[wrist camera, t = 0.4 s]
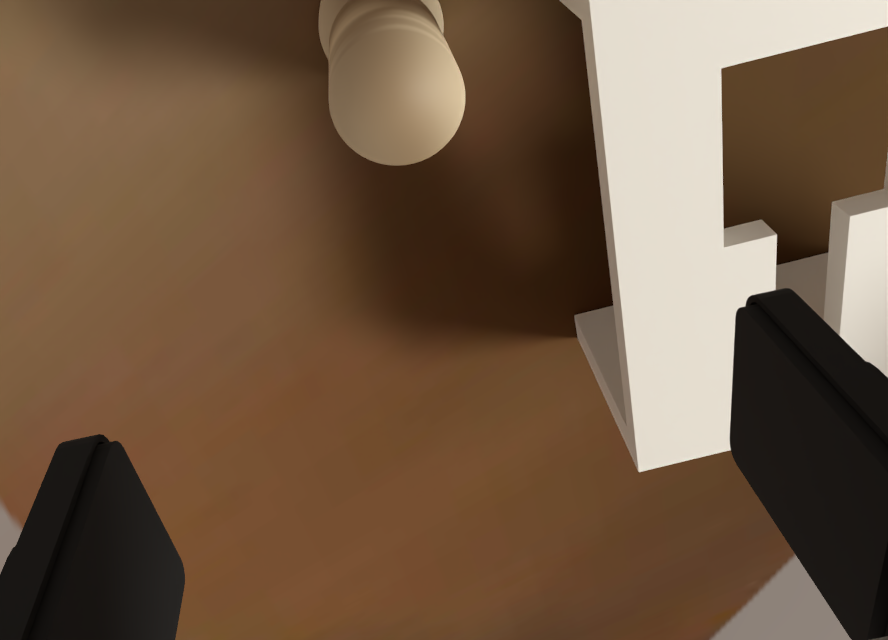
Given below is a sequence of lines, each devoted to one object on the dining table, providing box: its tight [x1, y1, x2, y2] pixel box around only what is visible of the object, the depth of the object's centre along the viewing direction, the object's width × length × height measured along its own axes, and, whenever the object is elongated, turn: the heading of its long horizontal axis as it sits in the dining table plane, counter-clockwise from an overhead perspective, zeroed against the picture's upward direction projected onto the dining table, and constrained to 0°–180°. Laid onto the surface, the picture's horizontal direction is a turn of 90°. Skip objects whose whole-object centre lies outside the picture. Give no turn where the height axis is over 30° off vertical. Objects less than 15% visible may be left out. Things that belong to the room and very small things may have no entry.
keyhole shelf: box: [559, 0, 888, 472], centre depth 32 cm, size 20×14×10 cm
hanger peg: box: [318, 0, 465, 166], centre depth 27 cm, size 5×5×10 cm
